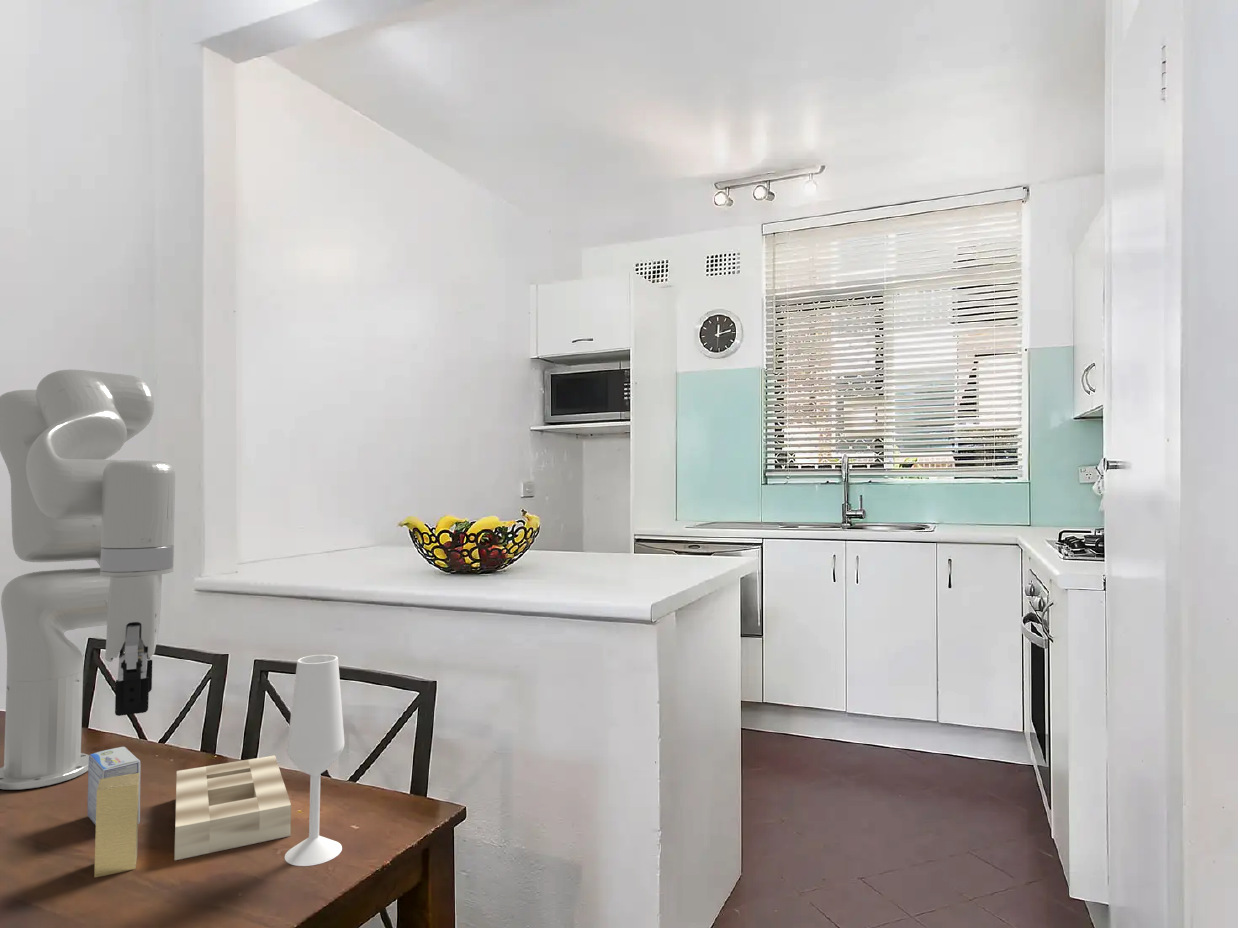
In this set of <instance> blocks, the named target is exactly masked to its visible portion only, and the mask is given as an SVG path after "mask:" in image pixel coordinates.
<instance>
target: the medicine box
mask: <svg viewBox="0 0 1238 928" xmlns="http://www.w3.org/2000/svg"><path fill="white" fill-rule="evenodd" d="M88 755H89V764H88V771H87V776H88V777H87V778H88V779H87V817H88V818H89V819H90V820H91V822H92V823H93V824H94V825H95V826H96V802H97V788H98V785H99V781H100V779H103V778H109V777H115V776H122V775H128V774H134V773H139V804H138V825H139V824H140V822H141V760H140V759H139V758H137V757H136V756H135V755H134V754H133V753H132V752H131V751H130V750H129V749H128V748H127V747H125V746H120V747H114V748H110V749H105V750H100V751H97V752H94V753H90V754H88Z"/></svg>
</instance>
